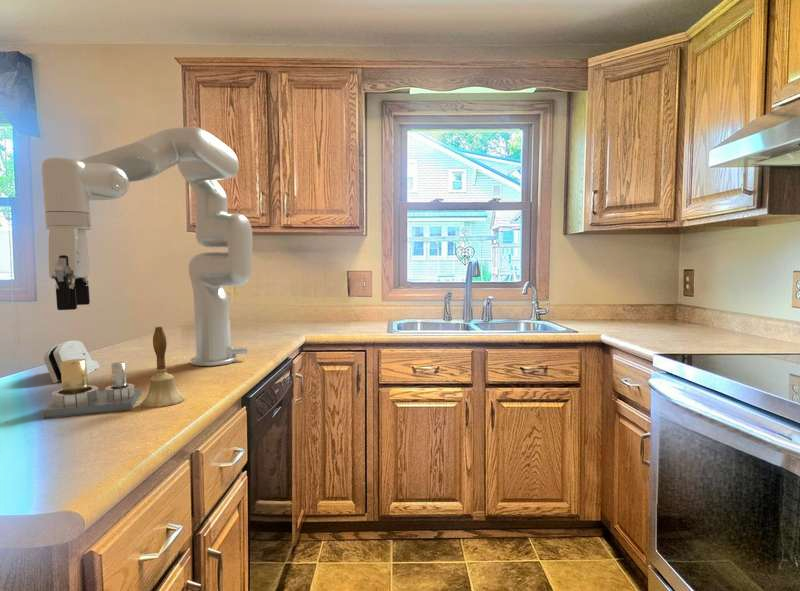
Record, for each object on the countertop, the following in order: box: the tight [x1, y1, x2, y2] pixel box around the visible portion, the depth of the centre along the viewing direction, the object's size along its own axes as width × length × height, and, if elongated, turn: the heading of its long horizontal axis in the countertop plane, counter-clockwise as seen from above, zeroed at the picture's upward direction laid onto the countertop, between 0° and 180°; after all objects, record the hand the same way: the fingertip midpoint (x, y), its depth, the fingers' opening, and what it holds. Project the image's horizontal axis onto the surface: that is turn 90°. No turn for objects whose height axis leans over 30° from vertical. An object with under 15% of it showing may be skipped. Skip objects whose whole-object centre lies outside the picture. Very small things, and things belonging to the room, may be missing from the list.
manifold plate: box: [42, 361, 142, 419], centre depth 103 cm, size 15×12×8 cm
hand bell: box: [141, 326, 186, 408], centre depth 105 cm, size 8×8×16 cm
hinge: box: [43, 340, 101, 384], centre depth 130 cm, size 17×5×10 cm, turn 12°
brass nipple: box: [60, 359, 89, 394], centre depth 102 cm, size 4×4×8 cm
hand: (74, 307), depth 102 cm, fingers open, 9 cm apart
